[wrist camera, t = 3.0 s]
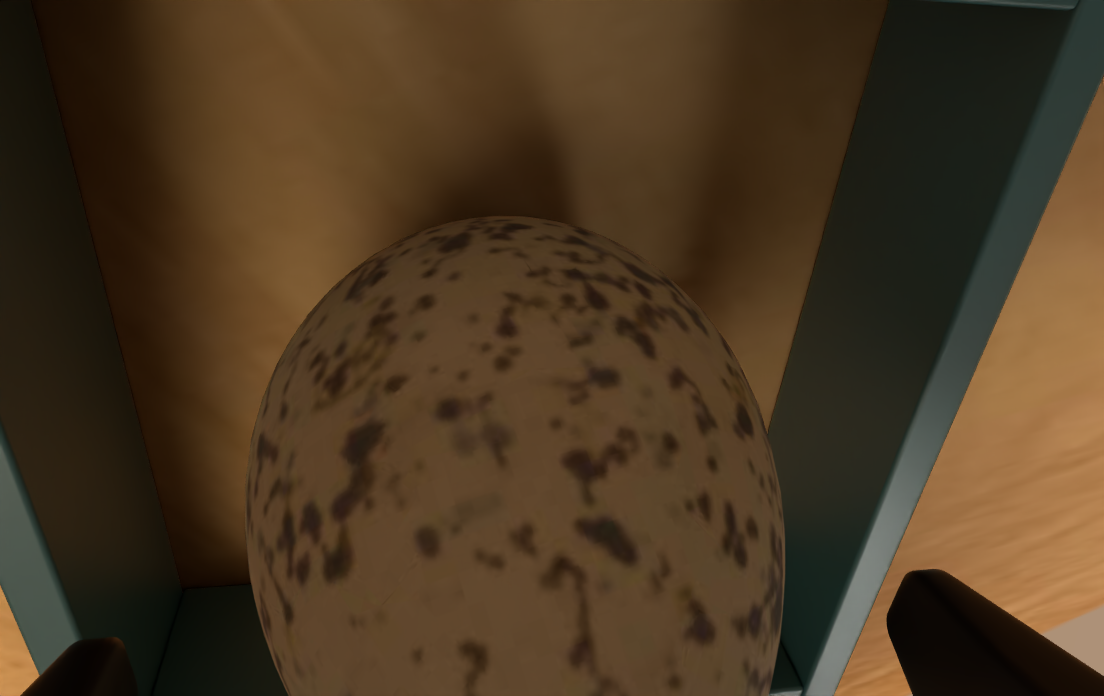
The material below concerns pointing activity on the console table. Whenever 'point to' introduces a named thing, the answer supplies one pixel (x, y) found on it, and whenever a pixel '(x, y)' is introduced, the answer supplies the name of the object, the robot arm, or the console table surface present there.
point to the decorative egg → (513, 480)
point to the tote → (799, 416)
